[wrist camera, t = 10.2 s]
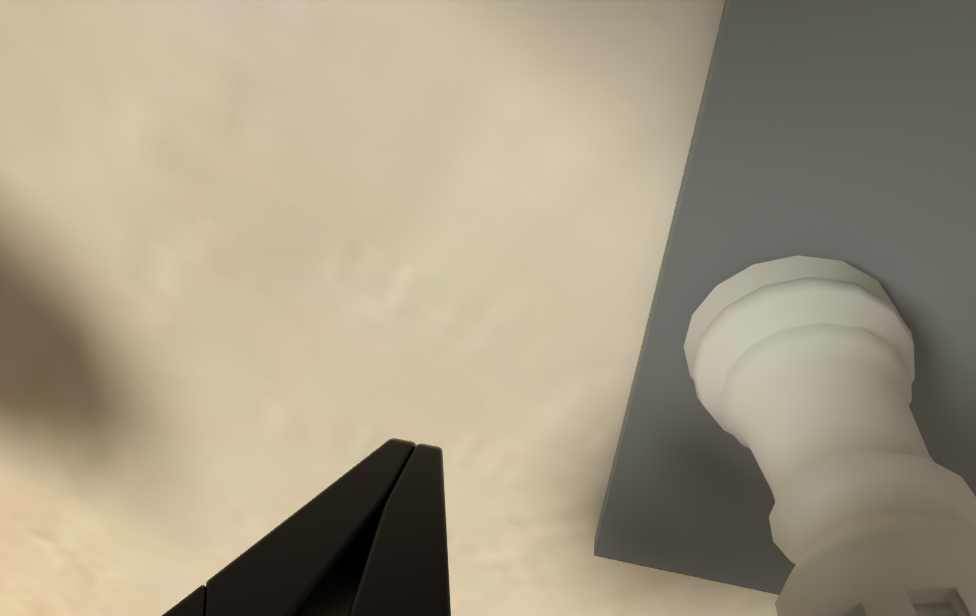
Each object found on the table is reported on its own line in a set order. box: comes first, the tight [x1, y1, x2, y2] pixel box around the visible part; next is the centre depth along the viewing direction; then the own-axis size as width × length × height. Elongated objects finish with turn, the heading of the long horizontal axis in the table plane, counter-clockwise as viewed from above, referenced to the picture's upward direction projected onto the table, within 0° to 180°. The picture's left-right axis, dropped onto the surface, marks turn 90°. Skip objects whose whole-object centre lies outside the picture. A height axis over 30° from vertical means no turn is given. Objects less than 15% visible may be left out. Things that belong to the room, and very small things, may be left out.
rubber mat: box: [594, 0, 976, 595], centre depth 13 cm, size 18×14×1 cm
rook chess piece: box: [684, 255, 976, 616], centre depth 10 cm, size 4×4×8 cm
